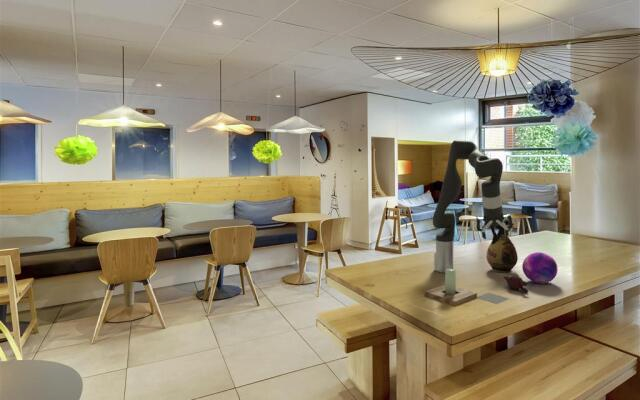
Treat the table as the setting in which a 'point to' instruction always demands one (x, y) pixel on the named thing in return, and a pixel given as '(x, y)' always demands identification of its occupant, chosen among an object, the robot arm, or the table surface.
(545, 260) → the decorative orb
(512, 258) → the ceramic jug
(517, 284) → the icecream
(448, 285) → the ball
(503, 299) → the mat
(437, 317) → the table surface
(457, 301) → the pocket block
